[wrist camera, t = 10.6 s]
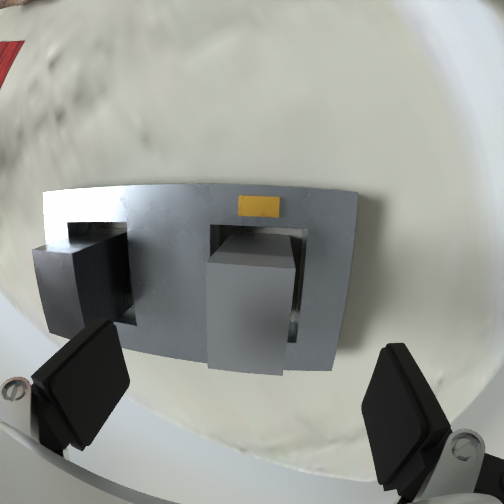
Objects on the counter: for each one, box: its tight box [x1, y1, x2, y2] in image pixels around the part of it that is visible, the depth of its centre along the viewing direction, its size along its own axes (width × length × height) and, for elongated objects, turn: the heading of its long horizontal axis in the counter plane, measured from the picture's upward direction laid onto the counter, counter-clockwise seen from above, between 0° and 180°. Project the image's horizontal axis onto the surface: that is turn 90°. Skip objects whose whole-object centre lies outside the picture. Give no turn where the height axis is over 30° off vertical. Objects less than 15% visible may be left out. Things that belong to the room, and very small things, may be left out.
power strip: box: [32, 184, 358, 371], centre depth 17 cm, size 24×13×8 cm, turn 88°
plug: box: [206, 231, 296, 376], centre depth 17 cm, size 4×6×8 cm, turn 177°
